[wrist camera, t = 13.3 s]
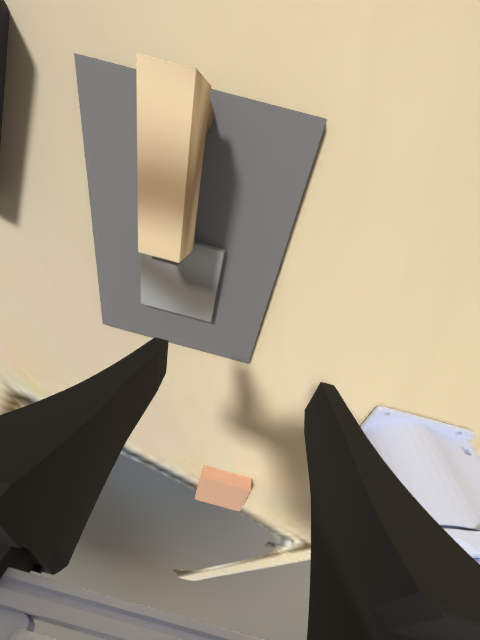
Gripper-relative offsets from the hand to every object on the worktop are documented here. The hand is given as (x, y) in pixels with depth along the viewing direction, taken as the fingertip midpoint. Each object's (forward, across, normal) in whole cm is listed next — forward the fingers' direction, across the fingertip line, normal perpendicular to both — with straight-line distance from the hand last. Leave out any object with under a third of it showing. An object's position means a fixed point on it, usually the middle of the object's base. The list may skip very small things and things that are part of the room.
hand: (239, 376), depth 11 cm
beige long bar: (+9, +6, -4) cm, 12 cm away
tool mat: (+9, +6, -2) cm, 11 cm away
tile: (+9, -3, +28) cm, 29 cm away
